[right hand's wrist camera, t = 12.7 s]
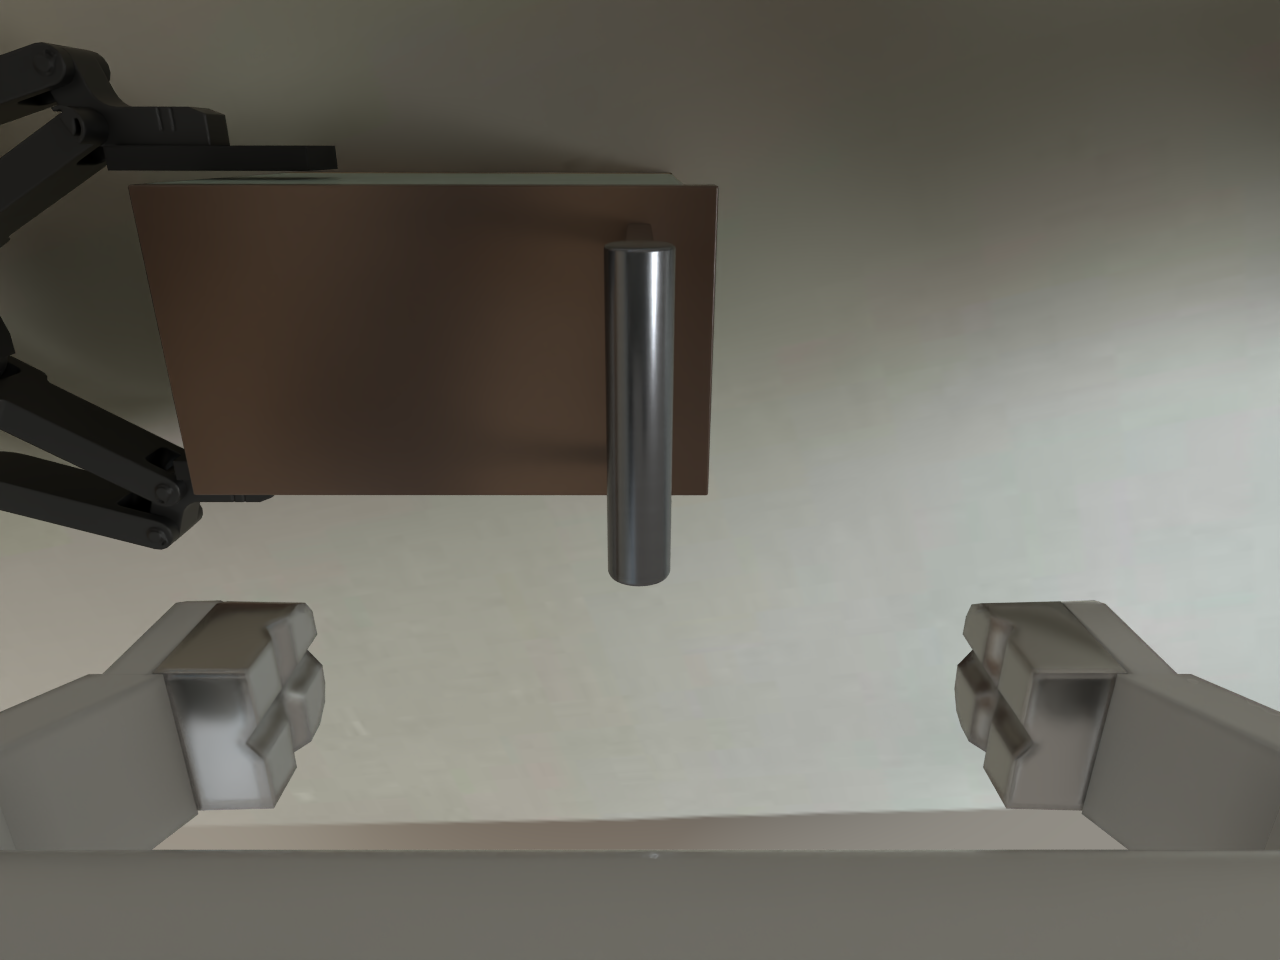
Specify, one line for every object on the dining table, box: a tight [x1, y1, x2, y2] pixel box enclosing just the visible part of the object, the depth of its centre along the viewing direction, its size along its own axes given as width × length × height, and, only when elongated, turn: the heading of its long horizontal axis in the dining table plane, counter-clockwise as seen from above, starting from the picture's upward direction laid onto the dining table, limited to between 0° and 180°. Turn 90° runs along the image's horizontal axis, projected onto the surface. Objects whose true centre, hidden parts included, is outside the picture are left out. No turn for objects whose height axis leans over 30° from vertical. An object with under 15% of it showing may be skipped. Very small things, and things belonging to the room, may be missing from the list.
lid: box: [128, 184, 719, 586], centre depth 22 cm, size 17×10×9 cm, turn 90°
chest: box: [148, 172, 683, 185], centre depth 31 cm, size 16×10×11 cm, turn 90°
